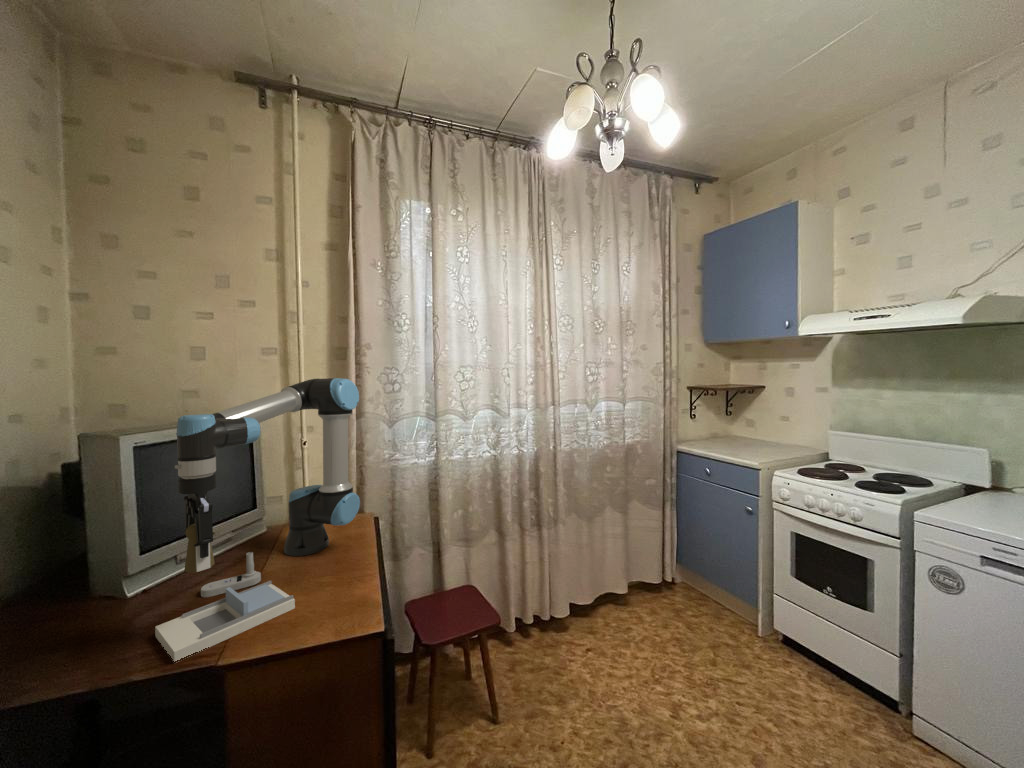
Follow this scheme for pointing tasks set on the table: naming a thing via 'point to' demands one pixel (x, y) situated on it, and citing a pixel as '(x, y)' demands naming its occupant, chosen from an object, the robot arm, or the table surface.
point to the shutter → (252, 599)
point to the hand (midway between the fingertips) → (199, 565)
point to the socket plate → (215, 624)
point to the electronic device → (233, 580)
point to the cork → (193, 550)
